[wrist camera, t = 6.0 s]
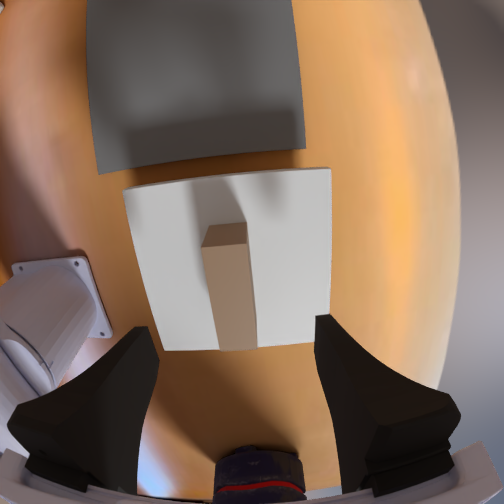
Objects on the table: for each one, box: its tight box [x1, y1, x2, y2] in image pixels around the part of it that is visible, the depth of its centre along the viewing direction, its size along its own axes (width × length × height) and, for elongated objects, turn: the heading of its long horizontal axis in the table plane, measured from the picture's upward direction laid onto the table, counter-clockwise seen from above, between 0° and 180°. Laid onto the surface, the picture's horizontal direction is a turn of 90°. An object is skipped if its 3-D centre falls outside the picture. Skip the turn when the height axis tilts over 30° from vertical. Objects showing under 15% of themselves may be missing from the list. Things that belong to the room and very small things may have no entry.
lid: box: [122, 167, 332, 351], centre depth 16 cm, size 11×11×4 cm
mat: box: [86, 0, 306, 175], centre depth 16 cm, size 14×14×1 cm
